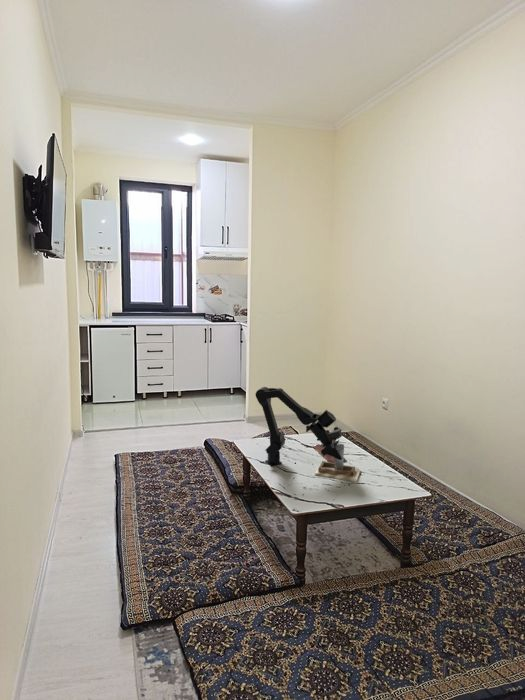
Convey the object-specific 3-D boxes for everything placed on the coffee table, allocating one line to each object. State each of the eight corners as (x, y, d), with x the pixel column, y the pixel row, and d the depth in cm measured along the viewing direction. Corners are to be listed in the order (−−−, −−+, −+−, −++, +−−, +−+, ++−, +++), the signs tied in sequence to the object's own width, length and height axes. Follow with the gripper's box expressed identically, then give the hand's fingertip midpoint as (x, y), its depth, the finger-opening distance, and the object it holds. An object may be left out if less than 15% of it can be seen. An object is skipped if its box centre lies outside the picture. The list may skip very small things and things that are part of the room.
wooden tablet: (310, 443, 267) (326, 440, 269) (310, 447, 267) (327, 444, 270) (330, 461, 242) (347, 458, 244) (330, 466, 242) (348, 462, 245)
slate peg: (333, 470, 230) (334, 445, 228) (336, 468, 233) (338, 442, 231) (340, 472, 227) (342, 446, 225) (344, 470, 231) (345, 444, 229)
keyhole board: (314, 474, 228) (315, 468, 227) (320, 464, 240) (320, 459, 239) (356, 481, 221) (357, 475, 221) (360, 471, 233) (360, 465, 233)
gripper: (328, 428, 219) (351, 455, 217) (336, 417, 237) (357, 442, 235) (311, 442, 223) (333, 468, 221) (320, 431, 240) (340, 454, 238)
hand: (342, 457), depth 229 cm, fingers closed on slate peg, 4 cm apart
